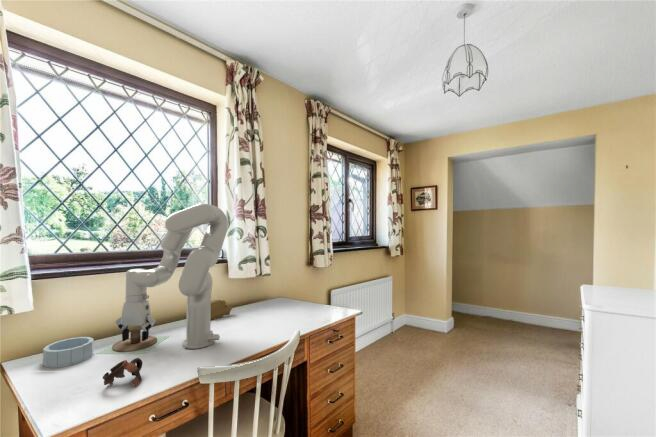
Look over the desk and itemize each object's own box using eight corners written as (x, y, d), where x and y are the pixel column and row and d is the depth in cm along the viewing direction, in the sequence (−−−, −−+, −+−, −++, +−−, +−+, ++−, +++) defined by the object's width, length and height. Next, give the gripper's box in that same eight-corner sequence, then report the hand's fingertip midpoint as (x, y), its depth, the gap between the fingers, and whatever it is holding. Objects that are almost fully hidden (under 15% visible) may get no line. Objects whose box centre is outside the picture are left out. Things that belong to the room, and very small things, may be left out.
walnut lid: (164, 337, 135) (164, 324, 135) (142, 352, 119) (142, 337, 119) (129, 337, 135) (129, 324, 135) (102, 352, 119) (102, 337, 119)
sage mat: (169, 337, 136) (169, 336, 136) (143, 354, 117) (143, 353, 117) (128, 336, 137) (128, 336, 137) (95, 354, 118) (95, 353, 118)
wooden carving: (228, 314, 172) (229, 296, 172) (232, 316, 169) (232, 298, 169) (199, 320, 161) (199, 301, 161) (202, 322, 158) (202, 303, 158)
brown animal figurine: (131, 394, 91) (115, 373, 89) (107, 405, 92) (91, 384, 91) (155, 366, 103) (142, 347, 101) (134, 376, 104) (120, 357, 103)
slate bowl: (101, 352, 120) (102, 337, 120) (71, 368, 106) (71, 351, 106) (67, 352, 120) (67, 336, 120) (32, 368, 106) (32, 351, 106)
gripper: (161, 296, 131) (160, 336, 131) (121, 296, 131) (121, 336, 131) (151, 300, 124) (150, 343, 123) (109, 300, 124) (108, 343, 123)
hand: (135, 339), depth 127 cm, fingers open, 7 cm apart
